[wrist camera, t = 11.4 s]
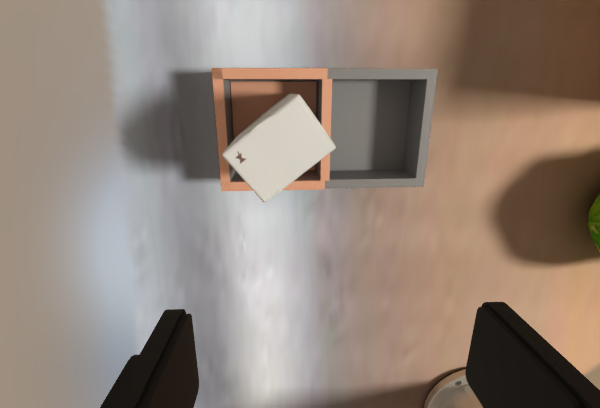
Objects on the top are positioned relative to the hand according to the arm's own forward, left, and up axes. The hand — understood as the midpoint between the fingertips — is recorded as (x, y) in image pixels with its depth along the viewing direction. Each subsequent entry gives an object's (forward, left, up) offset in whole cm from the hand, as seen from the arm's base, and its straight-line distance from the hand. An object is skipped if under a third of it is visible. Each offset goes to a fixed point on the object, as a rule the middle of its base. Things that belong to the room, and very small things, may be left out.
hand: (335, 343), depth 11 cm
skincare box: (+2, -4, -24) cm, 24 cm away
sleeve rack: (-2, -4, -24) cm, 25 cm away
